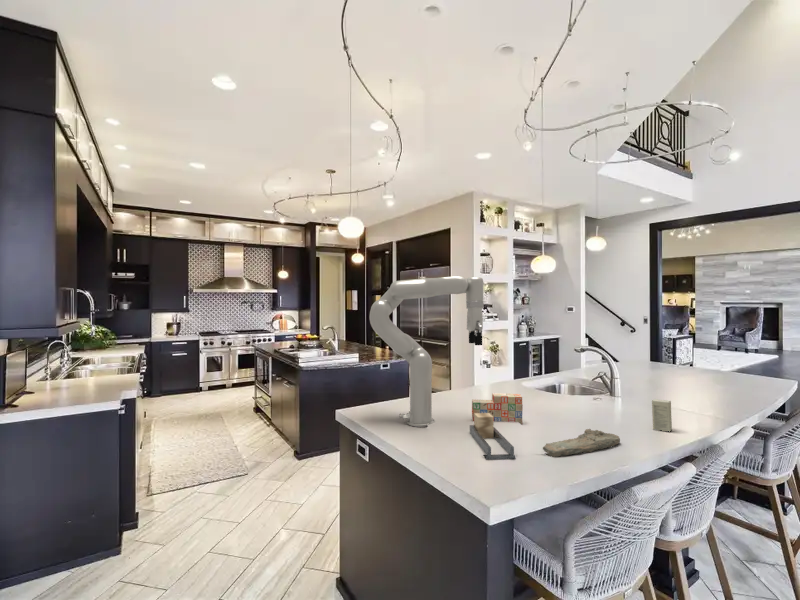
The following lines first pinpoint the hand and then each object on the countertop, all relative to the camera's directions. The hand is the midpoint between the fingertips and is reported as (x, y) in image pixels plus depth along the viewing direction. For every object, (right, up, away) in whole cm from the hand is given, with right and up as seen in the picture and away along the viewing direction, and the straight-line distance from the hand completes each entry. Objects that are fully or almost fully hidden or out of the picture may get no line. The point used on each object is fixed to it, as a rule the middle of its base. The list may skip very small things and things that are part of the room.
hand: (475, 344), depth 181 cm
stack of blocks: (+10, -35, +2) cm, 37 cm away
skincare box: (+76, -35, -10) cm, 84 cm away
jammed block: (-1, -33, -21) cm, 40 cm away
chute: (0, -34, -30) cm, 46 cm away
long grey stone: (+33, -35, -32) cm, 58 cm away
